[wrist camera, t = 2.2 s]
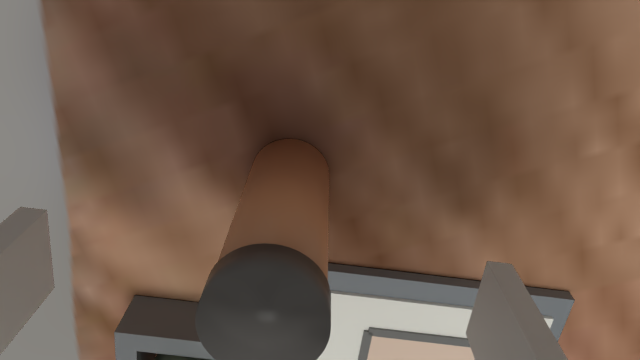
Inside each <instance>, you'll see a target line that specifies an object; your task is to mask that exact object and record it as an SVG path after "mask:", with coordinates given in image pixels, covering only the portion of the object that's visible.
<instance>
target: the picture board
mask: <svg viewBox="0 0 640 360" xmlns="http://www.w3.org/2000/svg"><path fill="white" fill-rule="evenodd" d="M328 283H329V286H330V291H331V332H330V338H329V341H328V344H327V346H326V348H325V350H324V351H323V353H322V354H321V355H320V356H319V358H318V359H317V360H475V358H474V355H473V353H472V350H471V347H470V344H469V341H468V339H467V336H466V330H467V326H468V323H469V320H470V316H471V313H472V310H473V306H474V303H475V300H476V297H477V293H478V290H479V287H480V283H481V281H474V280H466V279H458V278H449V277H441V276H433V275H424V274H416V273H407V272H399V271H391V270H382V269H374V268H365V267H357V266H349V265H340V264H332V263H328ZM526 289H527V291H528V292H529V294H530V296H531V297H532V299H533V301H534V303H535V304H536V306H537V308H538V309H539V311H540V313H541V314H542V316H543V318H544V320H545V321H546V323H547V325H548V326H549V328H550V330H551V332H552V333H553V335H554V337H555V338H556V340H557V342H558V340H559V337H560V335H561V332H562V330H563V327H564V325H565V323H566V320H567V318H568V315H569V313H570V310H571V308H572V305H573V303H574V301H575V300H574V298H573V297H572V295H571V294H570V292H567V291H558V290H550V289H542V288H533V287H526Z"/></svg>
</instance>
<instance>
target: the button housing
mask: <svg viewBox="0 0 640 360" xmlns="http://www.w3.org/2000/svg"><path fill="white" fill-rule="evenodd" d="M198 304H199V303H198V302H189V301H181V300H172V299H164V298H155V297H146V296H138V295H135V296H134V298H133V300H132V301H131V303H130V305H129V307H128V309H127V310H126V312H125V314H124V316H123V318H122V319H121V321H120V323H119V325H118V327H117V328H116V330H115V332H114V334H115V353H116V360H154V359H155V353H158V354H167V355H176V356H185V357H194V358H202V359H211V360H215V359H214V358H213V357H212V356H211V355H210V354H209V353H208V352H207V351H206V349H205V348H204V347H203V345H202V343H201V342H200V340H199V337H198V334H197V331H196V326H195V316H196V310H197V307H198Z"/></svg>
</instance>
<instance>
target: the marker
mask: <svg viewBox="0 0 640 360" xmlns="http://www.w3.org/2000/svg"><path fill="white" fill-rule="evenodd" d="M328 233H329V168H328V164H327V162H326V160H325V158H324V156H323V155H322V154H321V153H320V152H319V150H318V149H316V148H315V147H314V146H312V145H311V144H309V143H307V142H304V141H301V140H297V139H281V140H277V141H274V142H272V143H270V144H268V145H267V146H265V147H264V148H263V149H261V151H260V152H259V153H258V154H257V156H256V157H255V159H254V162H253V164H252V167H251V170H250V173H249V176H248V178H247V181H246V184H245V187H244V190H243V192H242V195H241V198H240V201H239V204H238V206H237V209H236V212H235V215H234V218H233V220H232V223H231V226H230V229H229V232H228V235H227V237H226V240H225V243H224V246H223V249H222V251H221V254H220V257H219V260H218V262H217V263H216V265H215V266H214V267H213V269H212V270H211V272H210V274H209V277H208V279H207V282H206V285H205V287H204V290H203V293H202V295H201V298H200V301H199V304H198V307H197V310H196V316H195V326H196V331H197V334H198V337H199V340H200V342H201V343H202V345H203V347H204V348H205V349H206V351H207V352H208V353H209V354H210V355H211V356H212V357H213V358H214V359H215V360H317V359H318V358H319V356H320V355H321V354H322V353H323V351H324V350H325V348H326V346H327V344H328V341H329V338H330V332H331V291H330V286H329V283H328Z"/></svg>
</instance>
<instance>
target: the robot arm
mask: <svg viewBox="0 0 640 360" xmlns="http://www.w3.org/2000/svg"><path fill="white" fill-rule="evenodd" d="M53 289H54V279H53V268H52V258H51V248H50V237H49V226H48V216H47V210H43V209H34V208H25V207H20V208H18V209H17V210H16V211H15V212H14V213H13V214H11V215H10V216H9V217H8V218H7V219H6V220H4V221H3V222H2V223H1V224H0V355H1V354H2V352H3V351H4V350H5V349H6V347H7V346H8V345H9V344H10V342H11V341H12V340H13V338H14V337H15V336H16V335H17V334H18V332H19V331H20V330H21V329H22V327H23V326H24V325H25V324H26V322H27V321H28V320H29V319H30V318H31V316H32V315H33V314H34V313H35V311H36V310H37V309H38V308H39V306H40V305H41V304H42V303H43V301H44V300H45V299H46V297H47V296H48V295H49V294H50V293H51V291H52V290H53ZM466 336H467V339H468V341H469V344H470V347H471V350H472V353H473V355H474V358H475V360H568V359H567V357H566V356H565V354H564V352H563V350H562V349H561V347H560V345H559V344H558V342H557V340H556V338H555V337H554V335H553V333H552V332H551V330H550V328H549V326H548V325H547V323H546V321H545V320H544V318H543V316H542V314H541V313H540V311H539V309H538V308H537V306H536V304H535V303H534V301H533V299H532V297H531V296H530V294H529V292H528V291H527V289H526V287H525V285H524V284H523V282H522V280H521V279H520V277H519V275H518V273H517V272H516V270H515V268H514V267H513V265H512V264H508V263H500V262H491V261H487V263H486V267H485V270H484V273H483V277H482V280H481V283H480V287H479V290H478V293H477V297H476V300H475V303H474V306H473V310H472V313H471V316H470V320H469V323H468V326H467V330H466Z"/></svg>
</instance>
